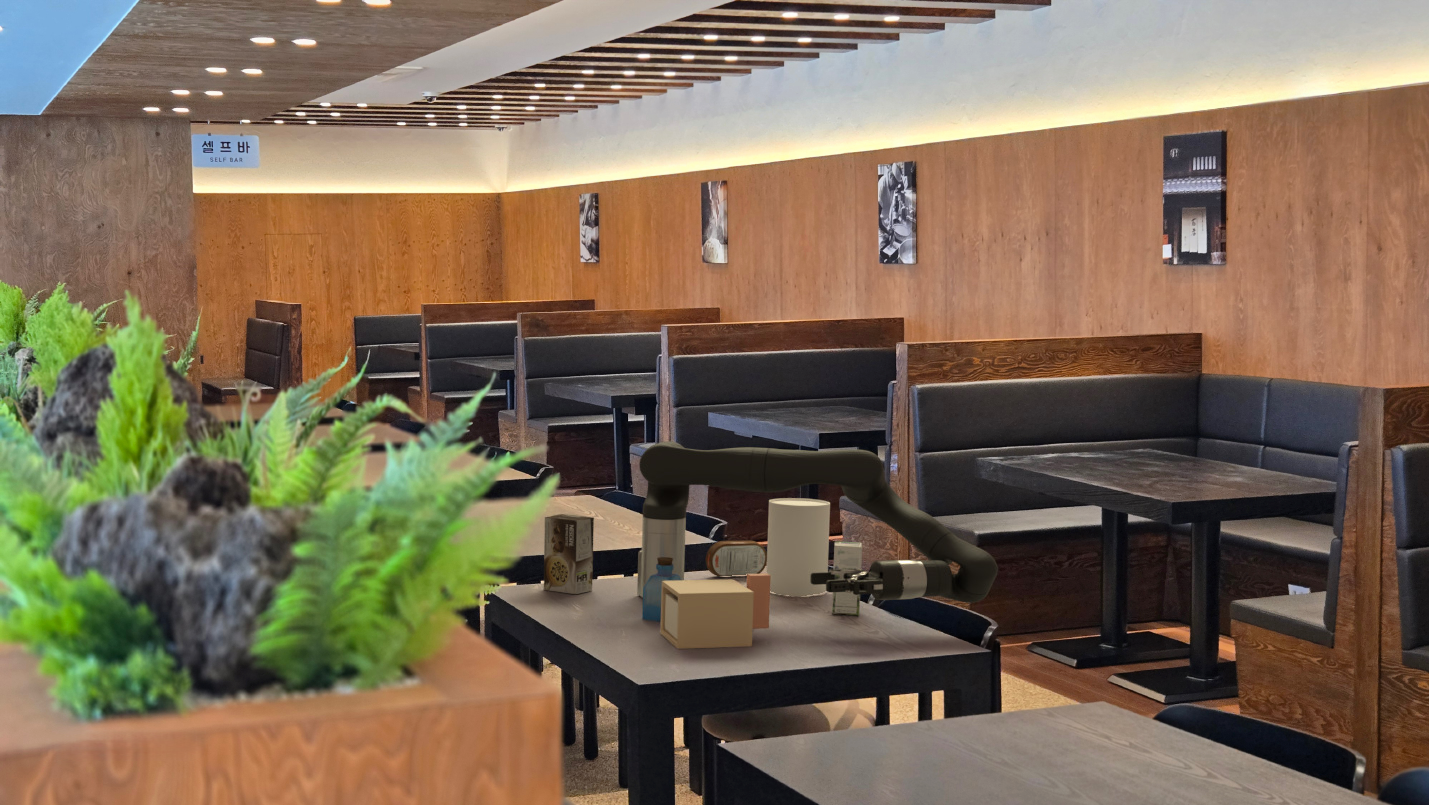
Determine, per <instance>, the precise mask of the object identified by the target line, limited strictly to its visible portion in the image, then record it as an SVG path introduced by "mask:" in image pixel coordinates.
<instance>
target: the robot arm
mask: <svg viewBox="0 0 1429 805" xmlns="http://www.w3.org/2000/svg"><path fill="white" fill-rule="evenodd" d="M638 463H639V464H638V465H639V471H640V473H641V475H642V477H643V479H645V480H646V481H647V491H646V496H645V500H644V502H643V506H642V528H641V530H642V531H641V532H642V533H641V536H642V537H641V549H640V550H639V551H638V552H637V553H638V555H637V557H638V558H637V560H638V561H637V588H636V590H637V592H636V593H637V594H636V595H638V596H640V598H642V599H643V588H644V586H645V584H646V583H647V581H648V580H649V578H650V576H651V575H654V574H657V573H658V570H657V569H656V564H658V560H657V558H659V557H670V558H673V561H672V564H673V565H674V567H673V570H672V574H677V575H679V577H680V579H681V580H685V559H686V558H685V556H686V553H685V552H686V524H687V522H686V520H687V519H686V517H687V508H688V504H689V498H690V486H708V487H709V486H710V487H716V488H720V489H721V488H722V489H727V490H737V491H745V492H757V493H758V492H759V493H781V492H786V491H790V490H794V489H796V488H799V487H803V486H806V485H814V484H820V485H822V484H823V485H834V486H838V487H841V489H842V492H843V494H844V495H845V497H846V498H847V499H848V500H849V501H851V502H852V503H853V504H855V505H857V506H858V507H859V508H861V509H863V510H865V511H867V512H868V513H870V514H872V515H873V516H875V517H876V518H878V519H879V520H880V521H882V522H883V523H884V524H887V526H889V527H890V528H892V529H893V530H894V531H895V532H897V533H898V534H899V535H900V536H902V537H903V539H905V540H906V541H908V543H910V544H911V545H912V546H913V547H914V548H915V549H916V550H918V551H919V552H920V553H921V554H922V555H923V556H925V557H926V559H928V560H913V559H888V560H875V561H873V562H872V563H871V565H870V568H869V570H868V571H867V570H865V571H864V569H862V568H861V569H856V568H854V569H834V568H830V569H828V572H821V573H811V578H810V582H811V584H813V585H820V584H826V591H827V593H833V592H847V593H853V594H855V595H858V594H860V595H871V596H872V597H873V599H875V600H876V601H890V600H891V601H892V600H912V599H915V598H930V597H933V598H934V597H940V598H945V599H949V600H953V601H957V602H961V603H967V604H973V603H977V602H980V601H982V600H984V599H985V598H986V597H987V596H988V594H989V592H990V591H991V588H992V586H993V585H994V584H993V583H994V582H995V579H996V578H997V575H998V572H999V567H998V566H999V565H998V564H997V562H996V559H995V558H994V557H993V556H992V555H991V554H990V553H988V552H987V551H986V550H984V549H983V548H980V547H979V546H976V545H974V544H972V543H970V542H968V541H966V540H964V539H961V538H959V537H958V536H956V535H955V533H953V532H952V531H950V530H949V529H948V528H947V527H946V526H944V524H942V522H940V521H938V520H937V519H936V518H935V517H934V516H932V515H931V514H928V513H927V512H925V511H923V510H920V508H916V507H914V506H913V505H911V504H910V503H908V502H907V501H905V500H904V499H902V497H900V496H899V495H898V494H897V493H896V491H895V490H893V488H892V487H891V486H890V484H889V483H888V481H886V475H885V469H884V464H883V461H882V459H881V458H880V457H879V456H878V455H877V454H876V453H874V452H872V451H870V450H865V449H839V450H820V451H819V450H816V451H815V450H802V449H782V448H781V449H779V448H773V447H772V448H771V447H770V448H769V447H750V446H748V447H746V446H745V447H731V448H730V447H729V448H720V449H710V450H709V449H708V450H707V449H704V450H702V449H693V448H685V446H683V445H682V444H680V443H678V442H677V441H671V440H667V441H662V442H661V441H660V442H658V443H654V444H653V445H650V446H649V447H648V448H647V449H646V450H645V451H644V452H643V453H642V455H641V456H640V459H639V462H638ZM952 563H956V564H957V565H958V566H959V569H958V571H957V573H953V572H952V569H951V566H950V565H951V564H952ZM835 575H840V579H835Z"/></svg>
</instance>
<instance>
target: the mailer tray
mask: <svg viewBox="0 0 1429 805" xmlns="http://www.w3.org/2000/svg"><path fill="white" fill-rule="evenodd" d="M770 579H771V575H769V574H767V573H760V574H747V577H746V588H748V589H750V590H751V591H753V592H754V597H753V628H752V630H758V629H759V630H761V629H769V628H770V606H771V593H770ZM677 617H678V597H677V596H676V595H674V594H666V600H665V630H667V631H668V632H669V633H670V634H671V635H672V636H673V637H675V638H676V639H677Z"/></svg>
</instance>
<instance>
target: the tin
mask: <svg viewBox="0 0 1429 805" xmlns="http://www.w3.org/2000/svg"><path fill="white" fill-rule="evenodd" d="M705 565H706V568H707V569H708V571H709V572H710V573H711V574H712V575H714V576H716V577H718V576H732V575H746V574H762V572H763V571H764V570H765V569H766V567H767V550H766V549H765V547H764V546H763V545H762V544H760V543H758V542H757V541H755V540H721V541H717V542H716V543H713V544H712V545H711V546H710V547H709V549H708V550H707V553H706V556H705Z"/></svg>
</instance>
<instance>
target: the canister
mask: <svg viewBox="0 0 1429 805" xmlns="http://www.w3.org/2000/svg"><path fill="white" fill-rule="evenodd" d="M830 512H831V502H829V501H826V500H822V499H815V498H814V499H813V498H800V497H797V498H795V497H794V498H792V497H787V498H785V497H783V498H781V497H780V498H773V499H772V498H771V499H769V500H768V520H767V546H766V547H767V550H766V553H767V563H766V574H769V575H771V579H770V591H771V592H774V593H776V594H781V595H789V596H807V595H813V594H820V593H823V592H825V591H826V584H820V585H813V584H811V582H810V578H811V573H821V572H829V546H830V544H829V543H830V541H829V540H830V517H831V516H830V515H831V513H830Z"/></svg>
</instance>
